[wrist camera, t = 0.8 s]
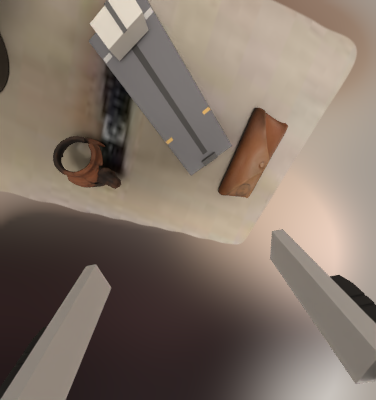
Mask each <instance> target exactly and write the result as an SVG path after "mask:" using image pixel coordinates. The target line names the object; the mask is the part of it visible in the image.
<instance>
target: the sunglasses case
mask: <svg viewBox="0 0 376 400" xmlns="http://www.w3.org/2000/svg"><path fill="white" fill-rule="evenodd" d="M287 127H288V125H287V124H286V123H281V122H279V121H277V120H275V119H274V118H273V117H271V116H270V115H268V114H267V113H265V111H264V110H263V109H261V108H255V109H254V111H253V113H252V115H251V117H250V120H249V122H248V124H247V127H246V129H245V132H244V134H243V136H242V138H241V141H240V143H239V145H238V147H237V150H236V152H235V154H234V157H233V159H232V161H231V163H230V165H229V168H228V170H227V172H226V174H225V177H224V179H223V181H222V183H221V185H220V188H219V190H218V192H219V193H220V194H221V195H230V196H241V197H246V198H248V197H249V196H250V194H251V193H252V191H253V189H254V187H255V186H256V184H257V182H258V180H259V178H260V176H261V175H262V173H263V171H264V169H265V167H266V166H267V164H268V162H269V160H270V158H271V157H272V155H273V153H274V151H275V150H276V148H277V146H278V144H279V143H280V141H281V139H282V137H283V136H284V134H285V132H286V130H287Z"/></svg>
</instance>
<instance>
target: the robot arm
mask: <svg viewBox="0 0 376 400" xmlns="http://www.w3.org/2000/svg"><path fill="white" fill-rule="evenodd" d="M7 77H8V59H7V54H6V50H5V47H4V44H3V41H2V39H1V36H0V91H1V90H2V89H3V87H4V86H5V84H6V81H7ZM270 259H271V260H272V262H273V263H274V265H275V266H276V268H277V269H278V270H279V272H280V274H281V275H282V276H283V278H284V279H285V281H286V282H287V284H288V285H289V287H290V288H291V290H292V291H293V293H294V294H295V296H296V297H297V298H298V300H299V301H300V303H301V304H302V306H303V307H304V309H305V310H306V312H307V313H308V315H309V316H310V318H311V319H312V321H313V322H314V323H315V325H316V326H317V328H318V329H319V331H320V332H321V334H322V335H323V336H324V338H325V339H326V341H327V342H328V344H329V345H330V347H331V348H332V350H333V351H334V353H335V354H336V356H337V357H338V358H339V360H340V362H341V363H342V365H343V366H344V367H345V369H346V370H347V372H348V373H349V375H350V376H351V378H352V379H353V381H354V382H355V384H360V383H367V382H373V381H376V305H375V304H374V302H373V301H372V300H371V299H369V297H367V296H365V295H364V293H363V292H362V291H361V290H360V289H359V288H358V287H356V286H355V285H354V284H353V283H351V282H350V281H348V280H347V279H345V278H343V277H342V276H340V275H336V276H330V277H329V276H328V275H327V274H326V273H325V272H324V271H323V270H322V269H321V268H320V267H319V266H318V265H317V263H315V261H313V259H312V258H310V256H308V254H307V253H306V252H304V250H303V249H302V248H301V247H300V246H299V245H298V244H297V243H295V242H294V240H293V239H292V238H291V237H290V236H289V235H288V234H287V233H286V232H285V231H284V230H283V229H282V230H276V231H272V240H271V255H270ZM110 289H111V287H110V285H109V284H108V282H107V280H106V279H105V278H104V276H103V275H102V273H101V271H100V270H99V268H98V267H97V265H91V266H86V268H85V269H84V271H83V272H82V274H81V275H80V277H79V278H78V280H77V281H76V283H75V285H74V286H73V288H72V289H71V291H70V292H69V294H68V296H67V297H66V299H65V300H64V302H63V303H62V305H61V306H60V308H59V309H58V311H57V313H56V314H55V316H54V317H53V319H52V320H51V322H50V324H49V325H48V327H44V328H43V329H42V330H41V331H40V332H39V333H38V334H37V335H36V336H35V337H34V338H33V340H32V341H31V342H30V344H29V346H28V347H27V348H26V350H25V351H24V354H23V355H22V356H21V357H20V359H19V360H18V362H17V363H16V366H15V367H14V368H13V369H12V371H11V372H10V374H9V375H8V377H7V378H6V379H5V381H4V383H3V384H2V385H1V387H0V400H65V399H66V397H67V395H68V392H69V390H70V387H71V385H72V383H73V380H74V377H75V375H76V373H77V370H78V368H79V365H80V363H81V360H82V358H83V356H84V353H85V351H86V348H87V345H88V343H89V341H90V338H91V336H92V333H93V331H94V329H95V326H96V324H97V321H98V319H99V316H100V314H101V311H102V309H103V306H104V304H105V302H106V299H107V297H108V294H109V292H110Z"/></svg>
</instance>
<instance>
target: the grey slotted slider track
mask: <svg viewBox="0 0 376 400" xmlns="http://www.w3.org/2000/svg"><path fill="white" fill-rule="evenodd" d="M136 2H137V4H138V5H139V7H140V8H141V10H142V12H143V15H144V18H145V21H146V24H147V27H148V31H147V32H146V34H145V35H144V36H143V37H142V38H141V39H140V40H139V41H138V42H137V43H136V44H135V45H134V46H133V47H132V48H131V50H130V51H129V52H128V53H127V54H126V55H125V56H124V57H123V58H122V59H121V60H120V61H119V60H118V59H117V58H116V57H115V56H114V55H113V54H112V53H111V51H110V50H109V49H108V48H107V46H106V45H105V44H104V42H103V41H102V40H101V38H100V37H99V36H98V34H97V33H95V34H94V35H93V36H92V38H91V39H90V40H89V42H90V44H91V45H92V46H93V48H94V49H95V50H96V52H97V53H98V54H99V56H100V57H101V58H102V59H103V61H104V62H105V63H106V65H107V66H108V67H109V69H110V70H111V71H112V73H113V74H114V75H115V77H116V78H117V79H118V80H119V82H120V83H121V84H122V86H123V87H124V88H125V90H126V91H127V92H128V94H129V95H130V96H131V98H132V99H133V100H134V102H135V103H136V104H137V105H138V107H139V108H140V109H141V111H142V112H143V113H144V115H145V116H146V117H147V119H148V120H149V121H150V123H151V124H152V125H153V127H154V128H155V129H156V130H157V132H158V133H159V134H160V136H161V137H162V138H163V140H164V141H165V142H166V144H167V145H168V146H169V148H170V149H171V150H172V151H173V153H174V154H175V155H176V157H177V158H178V159H179V161H180V162H181V163H182V165H183V166H184V167H185V169H186V170H187V171H188V173H189V174H190V175H193V174H194V173H195V172H197V171H198V170H199V169H201V168H202V167H204V166H206V165H207V164H209V163H210V162H211V161H213V160H214V159H216V158H217V156H219V155H220V154H221V153H223V152H224V151H226V150H227V149H228V148H230V147H231V146H232V145H231V143H230V141H229V140H228V138H227V136H226V135H225V133H224V131H223V129H222V128H221V126H220V124H219V123H218V121H217V119H216V117H215V116H214V114H213V112H212V110H211V109H210V107H209V105H208V104H207V102H206V100H205V98H204V97H203V95H202V93H201V92H200V90H199V88H198V86H197V85H196V83H195V81H194V80H193V78H192V76H191V74H190V73H189V71H188V69H187V68H186V66H185V64H184V62H183V61H182V59H181V57H180V55H179V54H178V52H177V50H176V49H175V47H174V45H173V43H172V42H171V40H170V38H169V37H168V35H167V33H166V31H165V30H164V28H163V26H162V25H161V23H160V21H159V19H158V18H157V16H156V14H155V13H154V11H153V9H152V7H151V6H150V4H149V2H148V0H136Z"/></svg>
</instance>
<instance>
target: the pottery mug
mask: <svg viewBox="0 0 376 400" xmlns="http://www.w3.org/2000/svg"><path fill="white" fill-rule="evenodd" d="M76 142H82V143H88V144H89V145H88V146H89V148H90V150H91V160H90V163H89V164H88V165H87V166H86V167H85V168H84V169H82V170H80V171H77V172H70V171H68V170H66V169H65V168H64V167H63V165H62V163H61V158H62V157H63V153H64V151H65V150H66V149H67V147H68V146H69V145H71V144H73V143H76ZM99 146H102V147H105V145H104V144H102V143H100V142H99V141H96V140H94V139H91V138H84V137H80V136H73V137H69V138H66V139H65V140H63V141H61V142H60V143H59V144H58V145H57V147H56V148H55V150H54V155H53V161H54V165H55V167H56V168H57V169H58V170H59V171H60V172H61V173H62V174H65V175H67V177H68V179H69V181H71V182H72V183H74V184H76V185H78V186H81V187H98V186H104V185H108V186H111V187H112V188H115V189H116V188H118V187H119V186H120V185H121V180H120V179H118V178H117V177H116V175H115V171H112V170H111V169H109V168H101V169H100V170H99V166H102V165H103V159H102V153H101V149H100V147H99Z"/></svg>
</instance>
